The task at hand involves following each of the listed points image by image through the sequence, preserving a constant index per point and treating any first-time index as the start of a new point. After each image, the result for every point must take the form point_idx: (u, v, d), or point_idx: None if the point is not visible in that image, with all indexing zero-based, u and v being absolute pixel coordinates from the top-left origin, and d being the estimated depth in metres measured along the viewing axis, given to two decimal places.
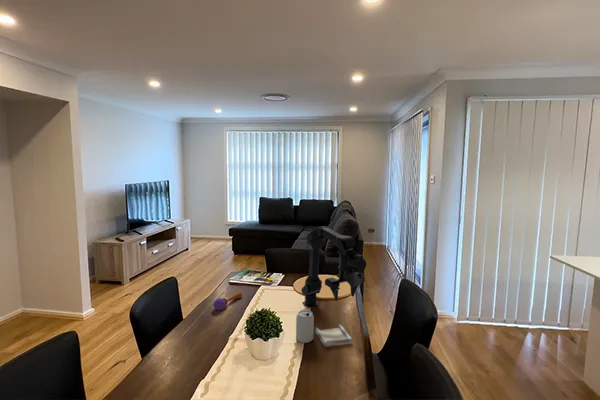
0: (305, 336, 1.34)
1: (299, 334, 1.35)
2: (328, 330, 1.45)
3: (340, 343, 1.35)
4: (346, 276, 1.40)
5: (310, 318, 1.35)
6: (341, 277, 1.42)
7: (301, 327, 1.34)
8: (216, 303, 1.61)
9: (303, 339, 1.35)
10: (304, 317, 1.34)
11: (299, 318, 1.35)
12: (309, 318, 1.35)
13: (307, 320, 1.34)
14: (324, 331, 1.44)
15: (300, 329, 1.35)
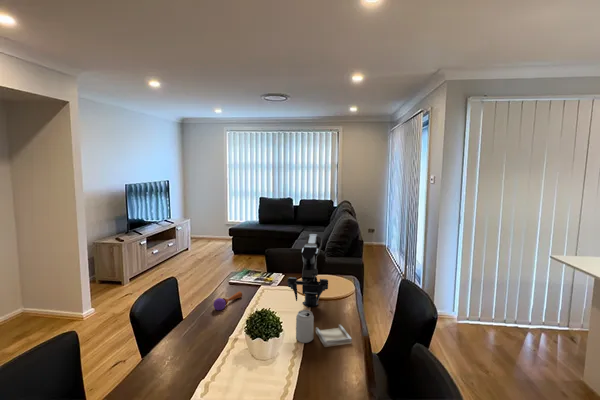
0: (305, 336, 1.34)
1: (299, 334, 1.35)
2: (328, 330, 1.45)
3: (340, 343, 1.35)
4: None
5: (310, 318, 1.35)
6: (302, 278, 1.51)
7: (301, 327, 1.34)
8: (216, 303, 1.62)
9: (303, 339, 1.35)
10: (304, 317, 1.34)
11: (299, 318, 1.35)
12: (309, 318, 1.35)
13: (307, 320, 1.34)
14: (324, 331, 1.44)
15: (300, 329, 1.35)
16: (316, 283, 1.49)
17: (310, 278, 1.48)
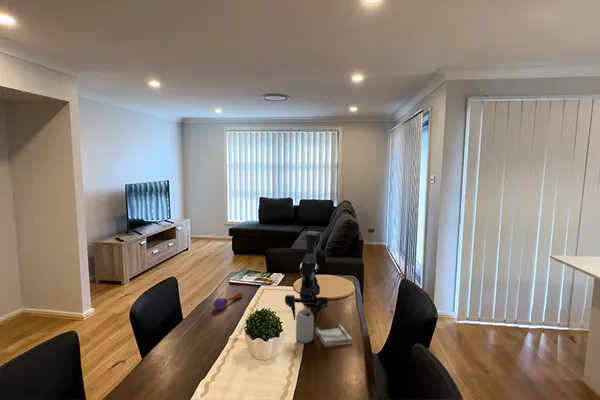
0: (305, 336, 1.34)
1: (299, 334, 1.35)
2: (328, 330, 1.45)
3: (340, 343, 1.35)
4: (301, 290, 1.43)
5: (310, 318, 1.35)
6: None
7: (301, 327, 1.34)
8: (216, 303, 1.62)
9: (303, 339, 1.35)
10: (304, 317, 1.34)
11: (299, 318, 1.35)
12: (309, 318, 1.35)
13: (307, 320, 1.34)
14: (324, 331, 1.44)
15: (300, 329, 1.35)
16: (315, 301, 1.42)
17: (309, 296, 1.42)
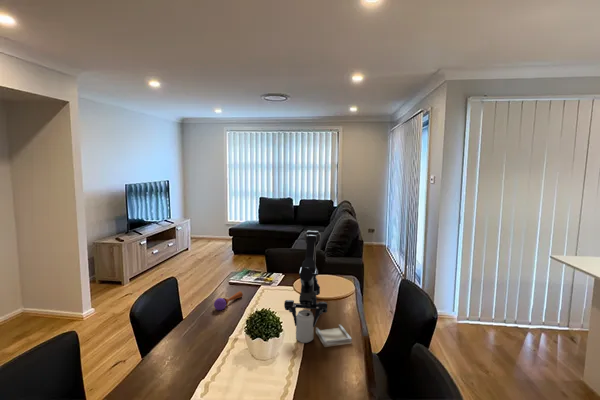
0: (305, 336, 1.34)
1: (299, 334, 1.35)
2: (328, 330, 1.45)
3: (340, 343, 1.35)
4: None
5: (310, 318, 1.35)
6: (300, 301, 1.42)
7: (301, 326, 1.34)
8: (216, 303, 1.62)
9: (303, 339, 1.35)
10: (304, 317, 1.34)
11: (299, 318, 1.35)
12: (309, 318, 1.35)
13: (307, 320, 1.34)
14: (324, 331, 1.44)
15: (300, 329, 1.35)
16: (315, 306, 1.41)
17: (308, 301, 1.40)
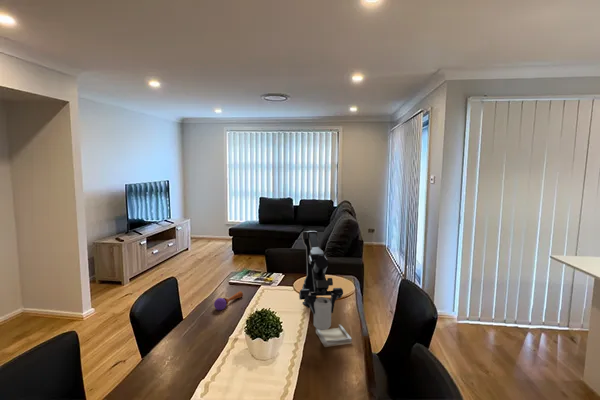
0: (325, 323, 1.34)
1: (319, 322, 1.35)
2: (328, 330, 1.45)
3: (340, 343, 1.35)
4: (315, 283, 1.40)
5: (329, 304, 1.35)
6: (314, 289, 1.42)
7: (321, 314, 1.34)
8: (217, 303, 1.62)
9: (323, 326, 1.34)
10: (324, 304, 1.34)
11: (318, 306, 1.34)
12: (328, 305, 1.35)
13: (327, 307, 1.34)
14: (324, 331, 1.44)
15: (319, 316, 1.34)
16: (330, 293, 1.41)
17: (324, 288, 1.40)
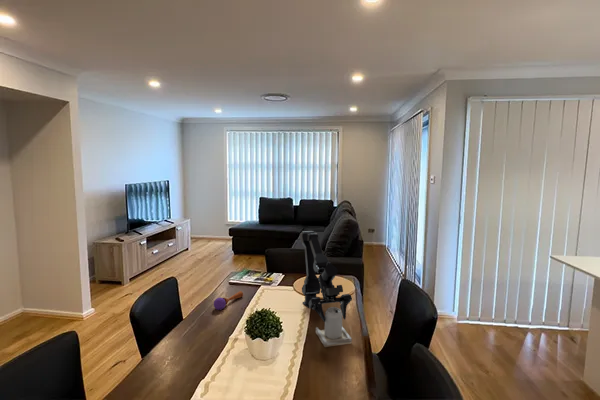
0: (337, 333, 1.36)
1: (331, 332, 1.36)
2: None
3: (340, 343, 1.35)
4: (325, 290, 1.41)
5: (340, 314, 1.37)
6: (323, 296, 1.43)
7: (333, 324, 1.35)
8: (216, 302, 1.62)
9: (336, 335, 1.36)
10: (336, 314, 1.36)
11: (331, 316, 1.36)
12: (340, 314, 1.37)
13: (339, 317, 1.36)
14: None
15: (332, 326, 1.36)
16: (338, 299, 1.43)
17: (333, 295, 1.42)
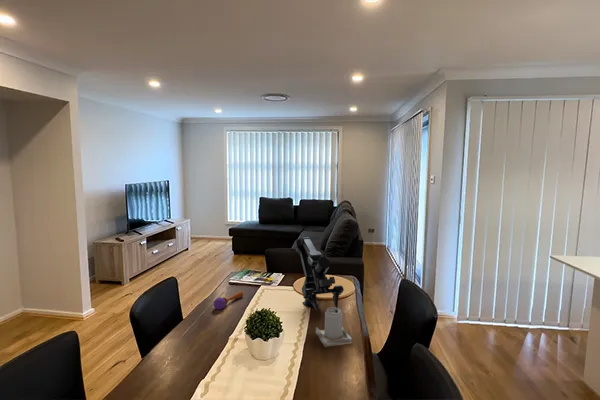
0: (337, 333, 1.36)
1: (331, 332, 1.36)
2: None
3: (340, 343, 1.35)
4: (318, 282, 1.50)
5: (340, 314, 1.37)
6: (317, 287, 1.52)
7: (333, 324, 1.36)
8: (216, 302, 1.63)
9: (336, 335, 1.36)
10: (336, 314, 1.36)
11: (331, 316, 1.36)
12: (340, 314, 1.37)
13: (339, 316, 1.36)
14: None
15: (332, 326, 1.36)
16: (331, 290, 1.52)
17: (326, 286, 1.51)
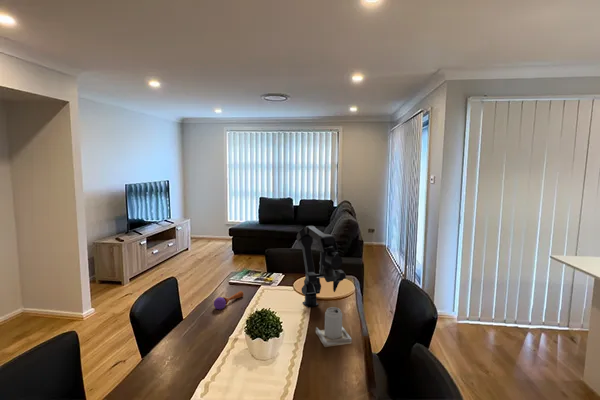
0: (337, 333, 1.36)
1: (331, 332, 1.36)
2: None
3: (340, 343, 1.35)
4: (323, 271, 1.50)
5: (340, 314, 1.37)
6: (320, 272, 1.53)
7: (333, 324, 1.36)
8: (216, 302, 1.63)
9: (336, 335, 1.36)
10: (336, 314, 1.36)
11: (331, 316, 1.36)
12: (340, 314, 1.37)
13: (339, 316, 1.36)
14: None
15: (332, 326, 1.36)
16: None
17: None
